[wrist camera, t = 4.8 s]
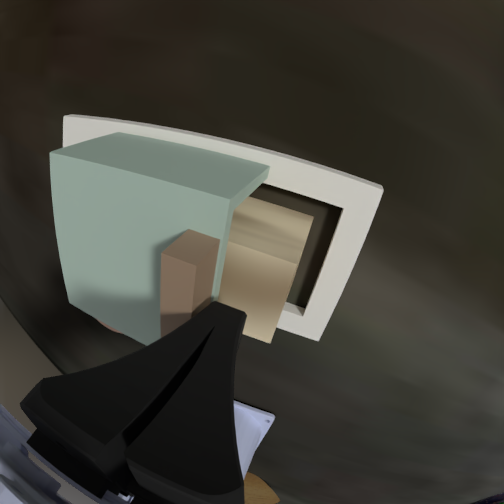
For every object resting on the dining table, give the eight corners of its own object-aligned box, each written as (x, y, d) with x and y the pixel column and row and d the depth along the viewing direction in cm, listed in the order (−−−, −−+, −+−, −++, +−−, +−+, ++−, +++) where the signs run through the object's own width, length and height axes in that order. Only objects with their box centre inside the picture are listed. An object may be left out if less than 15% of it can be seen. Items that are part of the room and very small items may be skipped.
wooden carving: (192, 449, 35) (163, 505, 27) (208, 445, 33) (177, 508, 25) (279, 493, 37) (260, 544, 28) (299, 491, 34) (281, 546, 26)
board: (320, 332, 19) (318, 341, 18) (75, 237, 22) (69, 241, 21) (381, 185, 14) (383, 190, 13) (71, 114, 17) (63, 116, 16)
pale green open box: (237, 310, 18) (187, 397, 13) (118, 261, 20) (50, 319, 14) (270, 165, 14) (205, 220, 8) (118, 131, 15) (19, 163, 9)
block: (291, 284, 18) (270, 343, 14) (220, 260, 19) (181, 309, 14) (313, 216, 16) (297, 264, 11) (232, 191, 16) (188, 227, 12)
